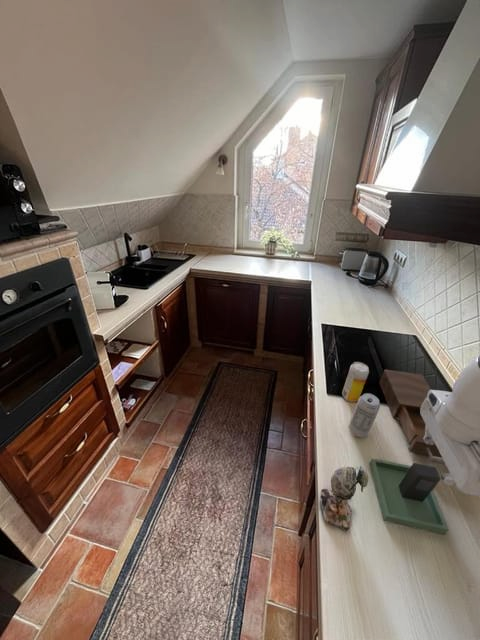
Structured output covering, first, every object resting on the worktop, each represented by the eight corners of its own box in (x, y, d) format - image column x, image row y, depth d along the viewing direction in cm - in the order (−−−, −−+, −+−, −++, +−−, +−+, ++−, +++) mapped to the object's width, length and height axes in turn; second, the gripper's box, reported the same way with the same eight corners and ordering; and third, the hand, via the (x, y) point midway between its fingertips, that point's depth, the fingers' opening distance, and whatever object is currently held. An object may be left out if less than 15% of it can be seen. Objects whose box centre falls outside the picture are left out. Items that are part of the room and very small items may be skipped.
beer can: (362, 400, 95) (373, 370, 88) (349, 405, 93) (360, 374, 86) (350, 389, 100) (360, 359, 92) (338, 393, 98) (347, 363, 90)
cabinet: (435, 424, 87) (444, 410, 83) (392, 417, 89) (399, 403, 85) (415, 387, 102) (422, 374, 98) (379, 382, 104) (384, 369, 100)
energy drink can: (371, 432, 84) (385, 400, 76) (361, 442, 80) (375, 410, 73) (354, 420, 88) (366, 388, 80) (344, 429, 84) (356, 398, 77)
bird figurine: (355, 492, 68) (377, 447, 58) (348, 537, 59) (373, 494, 49) (324, 476, 71) (340, 431, 61) (313, 517, 63) (330, 473, 52)
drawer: (462, 474, 72) (471, 464, 69) (414, 465, 73) (422, 455, 71) (430, 415, 89) (436, 404, 86) (392, 408, 91) (397, 398, 88)
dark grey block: (418, 489, 68) (435, 466, 63) (423, 502, 66) (441, 480, 60) (398, 485, 69) (413, 462, 63) (402, 498, 66) (418, 475, 61)
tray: (419, 472, 73) (422, 468, 71) (444, 534, 60) (448, 530, 59) (369, 463, 75) (371, 458, 73) (383, 520, 62) (386, 516, 61)
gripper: (518, 476, 43) (477, 514, 50) (455, 388, 60) (431, 426, 67) (476, 468, 44) (442, 507, 51) (426, 384, 61) (406, 422, 68)
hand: (436, 460), depth 59 cm, fingers open, 8 cm apart
